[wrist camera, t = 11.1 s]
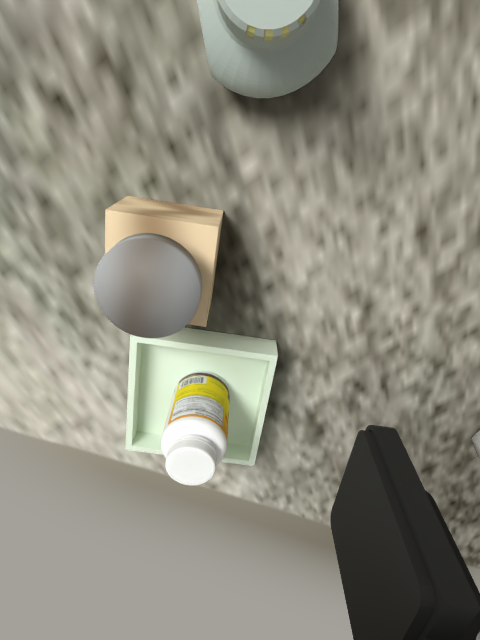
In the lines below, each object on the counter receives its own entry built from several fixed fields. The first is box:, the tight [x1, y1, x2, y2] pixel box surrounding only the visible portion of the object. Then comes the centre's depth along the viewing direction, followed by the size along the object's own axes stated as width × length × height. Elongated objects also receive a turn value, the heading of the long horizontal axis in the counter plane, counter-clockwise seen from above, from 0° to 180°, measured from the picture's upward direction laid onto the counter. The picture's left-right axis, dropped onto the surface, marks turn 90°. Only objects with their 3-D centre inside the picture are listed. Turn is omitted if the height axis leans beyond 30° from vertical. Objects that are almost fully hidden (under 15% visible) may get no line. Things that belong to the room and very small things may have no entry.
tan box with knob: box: [94, 196, 223, 338], centre depth 32 cm, size 8×8×10 cm
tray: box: [125, 327, 278, 466], centre depth 42 cm, size 13×13×3 cm
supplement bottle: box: [161, 371, 230, 485], centre depth 38 cm, size 6×6×10 cm
